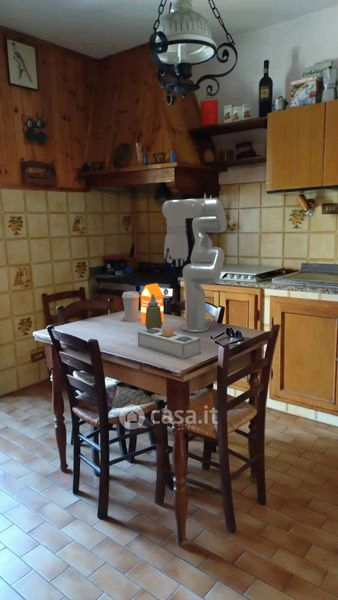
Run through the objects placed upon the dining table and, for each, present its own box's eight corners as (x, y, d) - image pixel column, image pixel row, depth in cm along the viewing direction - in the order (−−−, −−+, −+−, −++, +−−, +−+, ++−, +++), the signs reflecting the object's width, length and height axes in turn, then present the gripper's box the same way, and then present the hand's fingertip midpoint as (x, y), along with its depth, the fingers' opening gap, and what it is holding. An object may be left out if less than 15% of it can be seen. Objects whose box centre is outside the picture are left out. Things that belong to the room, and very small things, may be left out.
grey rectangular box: (155, 340, 186) (155, 327, 185) (200, 353, 168) (200, 338, 167) (138, 345, 179) (137, 332, 178) (183, 359, 161) (182, 343, 160)
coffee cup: (140, 322, 221) (139, 294, 218) (121, 322, 221) (120, 294, 218) (141, 318, 230) (140, 290, 227) (123, 318, 230) (122, 291, 227)
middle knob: (168, 337, 176) (168, 325, 175) (176, 339, 173) (176, 327, 172) (159, 340, 173) (159, 328, 172) (168, 342, 170) (167, 330, 169)
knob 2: (184, 347, 170) (184, 335, 169) (193, 350, 167) (192, 337, 166) (175, 350, 167) (175, 338, 166) (184, 353, 164) (184, 340, 163)
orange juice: (141, 323, 219) (139, 284, 215) (153, 320, 225) (152, 282, 222) (152, 325, 214) (151, 286, 210) (164, 322, 220) (163, 283, 217)
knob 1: (153, 339, 183) (153, 328, 182) (161, 341, 180) (161, 330, 179) (145, 342, 180) (145, 330, 179) (153, 344, 176) (152, 332, 175)
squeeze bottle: (149, 334, 196) (148, 296, 193) (142, 331, 203) (141, 294, 200) (165, 332, 200) (164, 294, 196) (157, 328, 207) (156, 292, 204)
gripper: (182, 230, 181) (183, 273, 184) (156, 231, 171) (157, 277, 174) (195, 230, 176) (196, 274, 179) (169, 231, 165) (170, 278, 169)
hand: (177, 275), depth 177 cm, fingers closed
